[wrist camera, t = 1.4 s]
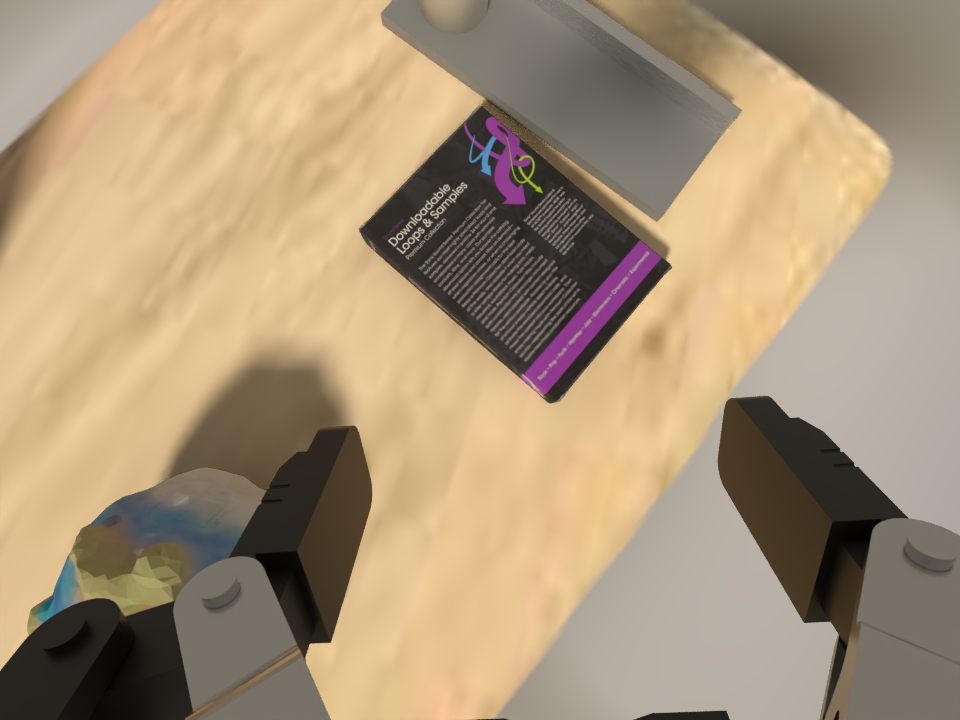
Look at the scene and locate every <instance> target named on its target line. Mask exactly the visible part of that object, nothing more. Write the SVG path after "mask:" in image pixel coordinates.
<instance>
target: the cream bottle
mask: <svg viewBox="0 0 960 720" xmlns="http://www.w3.org/2000/svg"><path fill="white" fill-rule="evenodd" d="M419 5H420V10H421V13H422V15H423V17H424V18H425V20H426V21H427V22H428V23H429V24H430V25H431V26H432V27H434V28H435V29H437V30H439V31H442V32H445V33H450V34H460V33H465V32H468V31H470V30H472V29H474V28H476V27H477V26H478V25H479V24H480V23H481V22H482V21H483V19H484V17H485V15H486V13H487V9H488V0H419Z"/></svg>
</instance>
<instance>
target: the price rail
mask: <svg viewBox="0 0 960 720" xmlns="http://www.w3.org/2000/svg"><path fill="white" fill-rule="evenodd" d="M529 1H530V2H532V3H533V4H534V5H536V6H537V7H539V8H540V9H541V10H543V11H544V12H546V13H547V14H549V15H550V16H551V17H553V18H554V19H556V20H557V21H558V22H560V23H561V24H563V25H564V26H566V27H567V28H568V29H570V30H571V31H573V32H574V33H575V34H577V35H578V36H580V37H581V38H583V39H584V40H585V41H587V42H588V43H590V44H591V45H592V46H594V47H595V48H597V49H598V50H600V51H601V52H602V53H604V54H605V55H607V56H608V57H609V58H611V59H612V60H614V61H615V62H617V63H618V64H619V65H621V66H622V67H624V68H625V69H626V70H628V71H629V72H631V73H632V74H634V75H635V76H636V77H638V78H639V79H641V80H642V81H644V82H645V83H646V84H648V85H649V86H651V87H652V88H653V89H655V90H656V91H658V92H659V93H661V94H662V95H663V96H665V97H666V98H668V99H669V100H670V101H672V102H673V103H675V104H676V105H678V106H679V107H680V108H682V109H683V110H685V111H686V112H687V113H689V114H690V115H692V116H693V117H695V118H696V119H697V120H699V121H700V122H702V123H703V124H704V125H706V126H707V127H709V128H710V129H712V130H713V131H714V132H716V133H717V134H719V135H720V136H721V135H722V134H723V133H724V132H725V131H726V130H727V129H728V128H729V126H730V125H731V124H732V123H733V122H734V121H735V119H736V118H737V117H738V115H739V114H740V113H741V111H742V110H741V109H740V108H738V107H737V106H736V105H734V104H733V103H731V102H730V101H728V100H727V99H726V98H724V97H723V96H721V95H720V94H719V93H717V92H716V91H714V90H713V89H711V88H710V87H709V86H708V85H707V84H705V83H704V82H703V81H701V80H700V79H698V78H697V77H695V76H694V75H693V74H691V73H690V72H688V71H687V70H685V69H684V68H683V67H681V66H680V65H678V64H677V63H675V62H674V61H673V60H670V59H669V58H667V57H666V56H664V55H663V54H662V53H660V52H659V51H657V50H656V49H654V48H653V47H652V46H650V45H649V44H647V43H646V42H644V41H643V40H642V39H640V38H639V37H637V36H636V35H634V34H633V33H632V32H630V31H629V30H627V29H626V28H624V27H623V26H622V25H620V24H619V23H617V22H616V21H614V20H613V19H612V18H610V17H609V16H607V15H606V14H604V13H603V12H602V11H600V10H599V9H597V8H596V7H595V6H593V5H592V4H590V3H589V2H587V1H586V0H529Z"/></svg>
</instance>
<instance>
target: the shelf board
mask: <svg viewBox="0 0 960 720" xmlns="http://www.w3.org/2000/svg"><path fill="white" fill-rule="evenodd" d="M381 18H382V24H383V26H385V27H386V28H388V29H389V30H390V31H392V32H393V33H395V34H396V35H397V36H399V37H400V38H401V39H403V40H404V41H406V42H407V43H408V44H410V45H411V46H413V47H414V48H415V49H417V50H418V51H420V52H421V53H422V54H424V55H425V56H427V57H428V58H429V59H431V60H432V61H434V62H435V63H436V64H438V65H439V66H440V67H442V68H443V69H445V70H446V71H447V72H449V73H450V74H452V75H453V76H454V77H456V78H457V79H459V80H460V81H461V82H463V83H464V84H466V85H467V86H468V87H470V88H471V89H472V90H474V91H475V92H477V93H478V94H479V95H481V96H482V97H484V98H485V99H486V100H488V101H489V102H491V103H492V104H493V105H495V106H496V107H498V108H499V109H500V110H502V111H503V112H505V113H506V114H507V115H509V116H510V117H511V118H513V119H514V120H516V121H517V122H518V123H520V124H521V125H523V126H524V127H525V128H527V129H528V130H530V131H531V132H532V133H534V134H535V135H537V136H538V137H539V138H541V139H542V140H544V141H545V142H546V143H548V144H549V145H550V146H552V147H553V148H555V149H556V150H557V151H559V152H560V153H562V154H563V155H564V156H566V157H567V158H569V159H570V160H571V161H573V162H574V163H576V164H577V165H578V166H580V167H581V168H582V169H584V170H585V171H587V172H588V173H589V174H591V175H592V176H594V177H595V178H596V179H598V180H599V181H601V182H602V183H603V184H605V185H606V186H608V187H609V188H610V189H612V190H613V191H615V192H616V193H617V194H619V195H620V196H621V197H623V198H624V199H626V200H627V201H628V202H630V203H631V204H633V205H634V206H635V207H637V208H638V209H640V210H641V211H642V212H644V213H645V214H647V215H648V216H649V217H651V218H652V219H654V220H655V221H656V222H657V221H658V220H659V219H660V218H661V217H662V216H663V215H664V214H665V212H666V211H667V209H668V208H669V207H670V205H671V204H672V203H673V201H674V200H675V198H676V197H677V196H678V194H679V193H680V192H681V190H682V189H683V187H684V186H685V185H686V183H687V182H688V181H689V179H690V178H691V176H692V175H693V174H694V172H695V171H696V170H697V168H698V167H699V165H700V164H701V163H702V161H703V160H704V159H705V157H706V156H707V154H708V153H709V152H710V150H711V149H712V148H713V146H714V145H715V143H716V142H717V141H718V139H719V138H720V135H719V134H717V133H716V132H714V131H713V130H712V129H710V128H709V127H707V126H706V125H704V124H703V123H702V122H700V121H699V120H697V119H696V118H695V117H693V116H692V115H690V114H689V113H687V112H686V111H685V110H683V109H682V108H680V107H679V106H678V105H676V104H675V103H673V102H672V101H670V100H669V99H668V98H666V97H665V96H663V95H662V94H661V93H659V92H658V91H656V90H655V89H653V88H652V87H651V86H649V85H648V84H646V83H645V82H644V81H642V80H641V79H639V78H638V77H636V76H635V75H634V74H632V73H631V72H629V71H628V70H626V69H625V68H624V67H622V66H621V65H619V64H618V63H617V62H615V61H614V60H612V59H611V58H609V57H608V56H607V55H605V54H604V53H602V52H601V51H600V50H598V49H597V48H595V47H594V46H592V45H591V44H590V43H588V42H587V41H585V40H584V39H583V38H581V37H580V36H578V35H577V34H575V33H574V32H573V31H571V30H570V29H568V28H567V27H566V26H564V25H563V24H561V23H560V22H558V21H557V20H556V19H554V18H553V17H551V16H550V15H549V14H547V13H546V12H544V11H543V10H541V9H540V8H539V7H537V6H536V5H534V4H533V3H532V2H530V1H529V0H488V9H487V13H486V15H485V17H484V19H483V21H482V22H481V23H480V24H479V25H478V26H477V27H476V28H474V29H472V30H470V31H468V32H465V33H460V34H450V33H445V32H442V31H439V30H437V29H435V28H434V27H432V26H431V25H430V24H429V23H428V22H427V21H426V20H425V18H424V17H423V15H422V13H421V10H420V5H419V0H392V1H391V3H390V4H389V5H388V6H387V7H386V8H385V9H384V10H383V12H382V13H381Z"/></svg>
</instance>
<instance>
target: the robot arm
mask: <svg viewBox="0 0 960 720" xmlns="http://www.w3.org/2000/svg"><path fill="white" fill-rule="evenodd" d="M718 469H719V474H720V478H721V481H722V484H723V486H724V488H725V489H726V491H727V493H728V495H729V496H730V498H731V500H732V501H733V503H734V505H735V507H736V508H737V510H738V512H739V513H740V515H741V517H742V518H743V520H744V522H745V523H746V525H747V527H748V529H749V530H750V532H751V534H752V535H753V537H754V539H755V540H756V542H757V543H758V545H759V547H760V549H761V551H762V552H763V554H764V556H765V557H766V559H767V560H768V562H769V564H770V566H771V568H772V569H773V571H774V573H775V574H776V576H777V578H778V579H779V581H780V583H781V584H782V586H783V588H784V590H785V591H786V593H787V595H788V596H789V598H790V600H791V602H792V603H793V605H794V606H795V608H796V610H797V612H798V613H799V615H800V617H801V618H802V620H803V622H804V623H811V622H831V623H832V624H833V626H834V627H835V629H836V631H837V632H838V637H837V640H836V643H835V646H834V651H833V656H832V661H831V666H830V671H829V675H828V680H827V686H826V690H825V695H824V700H823V705H822V710H821V715H820V720H960V536H959V535H957V534H955V533H953V532H952V531H950V530H947V529H945V528H943V527H940V526H938V525H935V524H932V523H928V522H924V521H921V520H915V519H909V518H908V517H907V516H906V515H905V514H904V513H902V511H901V510H900V509H899V508H898V507H897V506H896V505H895V504H894V503H893V502H892V501H891V500H890V499H889V498H888V497H887V496H886V495H885V494H884V493H883V492H882V491H881V490H880V489H879V488H878V487H877V486H876V485H875V484H874V483H873V482H872V481H871V480H870V479H869V478H868V477H867V476H866V475H865V474H864V473H863V472H862V471H861V470H860V469H859V467H855V466H854V462H853V461H852V460H851V459H850V458H849V457H848V456H847V455H846V454H845V453H844V452H840V448H839V447H838V446H837V445H836V444H835V443H834V442H833V441H832V440H831V439H830V438H829V437H828V436H827V435H826V434H825V433H824V432H823V431H821V430H820V429H818V428H816V427H814V426H812V425H811V424H809V423H807V422H805V421H804V420H802V419H800V418H789V417H788V416H787V414H786V413H785V412H784V411H783V410H782V409H781V408H780V407H779V406H778V405H777V404H776V402H775V401H774V400H773V399H772V398H770V397H769V396H757V397H744V398H731V399H729V400H728V401H727V402H726V405H725V409H724V416H723V423H722V431H721V439H720V446H719V454H718ZM371 503H372V484H371V478H370V474H369V470H368V466H367V463H366V459H365V455H364V451H363V447H362V443H361V439H360V435H359V432H358V430H357V428H356V427H355V426H342V427H328V428H320V429H319V430H318V432H317V434H316V436H315V438H314V439H313V441H312V443H311V445H310V447H309V449H308V451H307V452H297V453H296V454H295V455H294V456H293V457H292V458H290V459H289V460H288V461H287V462H286V463H285V464H284V465H283V466H281V467H280V468H279V470H278V472H277V474H276V475H275V477H274V479H273V481H272V482H271V484H270V489H267V491H266V493H265V495H264V496H263V498H262V500H261V504H259V505H258V507H257V509H256V510H255V512H254V514H253V516H252V517H251V519H250V521H249V523H248V524H247V526H246V528H245V530H244V531H243V533H242V535H241V537H240V538H239V540H238V542H237V544H236V545H235V547H234V549H233V551H232V552H231V554H230V556H229V558H227V559H224V560H221V561H218V562H216V563H214V564H212V565H210V566H208V567H206V568H205V569H203V570H202V571H200V572H199V573H198V574H196V575H195V576H194V577H193V578H192V579H191V580H190V581H189V582H188V583H187V584H186V585H185V586H184V587H183V589H182V590H181V591H180V593H179V595H178V596H177V598H176V600H174V601H172V602H169V603H166V604H162V605H159V606H156V607H153V608H150V609H147V610H144V611H141V612H137V613H134V614H131V615H128V616H124V614H123V613H122V611H121V609H120V608H119V606H118V605H117V604H116V603H115V602H114V601H112V600H110V599H105V598H95V599H90V600H86V601H82V602H79V603H77V604H74V605H72V606H70V607H68V608H66V609H64V610H62V611H60V612H58V613H57V614H55V615H53V616H52V617H51V618H49V619H48V620H46V621H45V622H44V623H42V624H41V625H40V626H39V627H38V628H36V629H35V630H34V631H33V632H32V633H31V634H30V635H29V636H28V637H27V639H26V640H25V641H24V642H23V643H22V644H21V646H20V647H19V648H18V649H17V651H16V652H15V653H14V654H13V656H12V657H11V658H10V659H9V661H8V662H7V663H6V664H5V666H4V667H3V668H2V669H1V671H0V720H331V719H330V717H329V715H328V712H327V710H326V708H325V706H324V703H323V701H322V699H321V696H320V694H319V692H318V690H317V687H316V685H315V683H314V680H313V678H312V676H311V674H310V671H309V669H308V667H307V664H306V662H305V660H304V659H305V656H306V653H307V650H308V647H309V644H310V643H331V640H332V637H333V634H334V630H335V627H336V623H337V620H338V617H339V613H340V610H341V607H342V603H343V600H344V596H345V593H346V590H347V586H348V583H349V579H350V576H351V573H352V569H353V566H354V562H355V559H356V556H357V552H358V549H359V546H360V542H361V539H362V535H363V532H364V529H365V525H366V522H367V518H368V515H369V512H370V508H371ZM478 720H507V719H478ZM635 720H730V719H729V717H728V714H727V711H705V712H677V713H652V714H649V715H646V716H643V717H640V718H637V719H635Z"/></svg>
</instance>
